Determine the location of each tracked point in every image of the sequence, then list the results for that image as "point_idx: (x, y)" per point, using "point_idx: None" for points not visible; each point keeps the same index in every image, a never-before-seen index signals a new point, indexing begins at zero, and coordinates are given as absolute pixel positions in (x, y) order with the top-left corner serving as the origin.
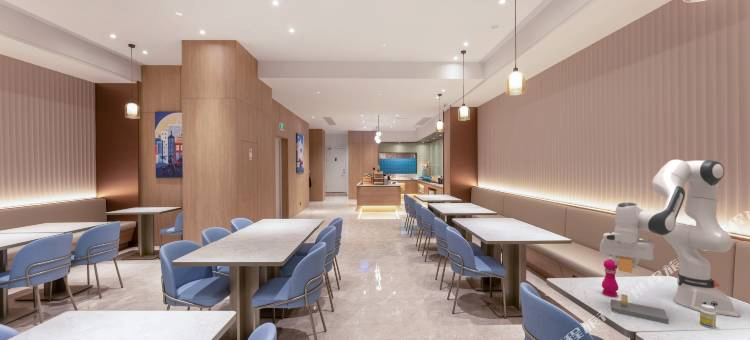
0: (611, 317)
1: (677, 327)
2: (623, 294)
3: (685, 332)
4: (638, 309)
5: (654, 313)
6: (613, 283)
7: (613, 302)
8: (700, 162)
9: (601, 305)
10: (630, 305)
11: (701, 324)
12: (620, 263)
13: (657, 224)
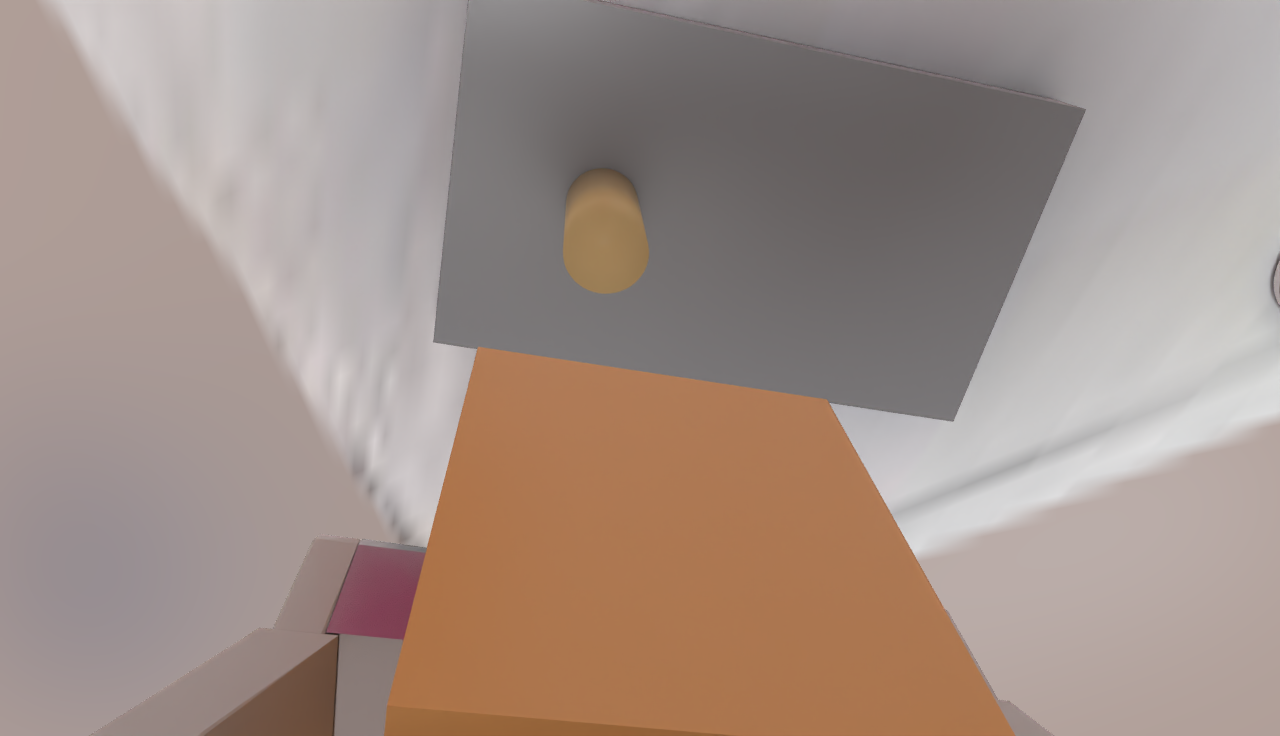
0: (419, 477)
1: (974, 440)
2: (600, 222)
3: (981, 516)
4: (743, 262)
5: (882, 315)
6: None
7: (485, 136)
8: None
9: (345, 150)
10: (690, 151)
11: (1275, 284)
12: None
13: None
